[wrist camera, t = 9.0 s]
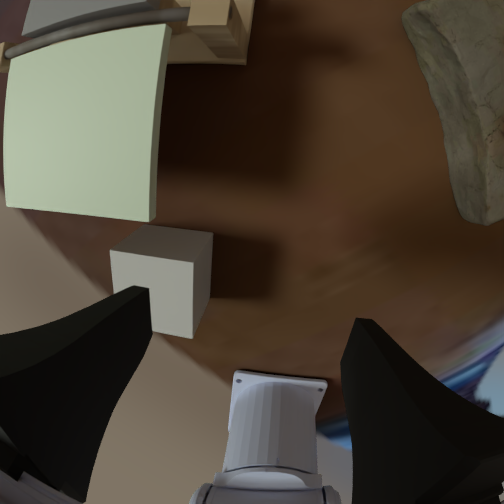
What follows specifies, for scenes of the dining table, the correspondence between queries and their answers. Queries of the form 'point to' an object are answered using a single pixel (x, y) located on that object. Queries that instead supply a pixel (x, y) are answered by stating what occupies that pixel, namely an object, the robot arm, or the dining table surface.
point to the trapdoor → (86, 113)
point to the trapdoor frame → (182, 37)
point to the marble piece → (466, 95)
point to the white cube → (167, 274)
